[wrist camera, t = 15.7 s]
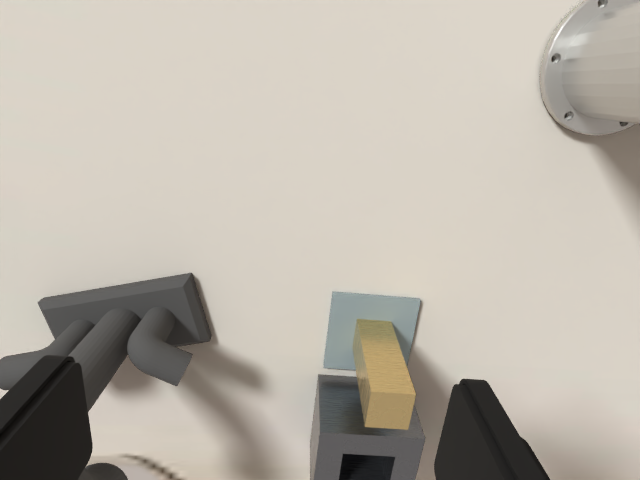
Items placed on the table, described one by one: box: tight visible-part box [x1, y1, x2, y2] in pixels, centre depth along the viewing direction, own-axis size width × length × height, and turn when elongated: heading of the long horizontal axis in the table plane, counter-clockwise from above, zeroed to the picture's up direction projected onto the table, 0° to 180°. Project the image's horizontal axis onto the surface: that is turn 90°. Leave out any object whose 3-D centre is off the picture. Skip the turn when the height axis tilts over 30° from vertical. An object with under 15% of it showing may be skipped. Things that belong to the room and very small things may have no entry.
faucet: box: [0, 273, 211, 480], centre depth 39 cm, size 18×16×20 cm
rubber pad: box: [324, 292, 421, 370], centre depth 48 cm, size 10×10×1 cm
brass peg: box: [352, 319, 416, 430], centre depth 42 cm, size 4×4×12 cm
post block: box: [310, 375, 425, 480], centre depth 48 cm, size 11×11×9 cm
